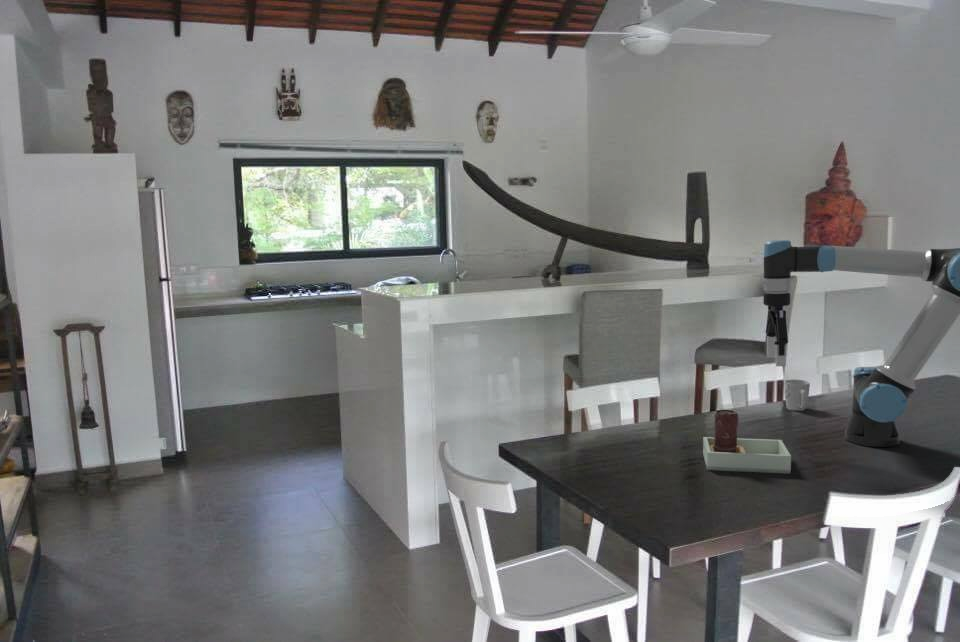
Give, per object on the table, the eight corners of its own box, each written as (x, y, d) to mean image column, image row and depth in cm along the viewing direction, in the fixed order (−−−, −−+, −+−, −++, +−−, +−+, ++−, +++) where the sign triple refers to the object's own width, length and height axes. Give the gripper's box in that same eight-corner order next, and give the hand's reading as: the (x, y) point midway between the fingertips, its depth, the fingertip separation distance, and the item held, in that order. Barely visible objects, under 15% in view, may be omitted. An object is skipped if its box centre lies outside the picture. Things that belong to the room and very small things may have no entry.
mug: (816, 413, 264) (817, 386, 262) (792, 414, 264) (793, 386, 262) (802, 405, 275) (803, 379, 273) (779, 406, 275) (780, 379, 274)
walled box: (780, 456, 219) (781, 439, 219) (790, 473, 205) (791, 456, 204) (703, 453, 224) (703, 437, 223) (707, 469, 209) (707, 452, 209)
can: (738, 462, 212) (739, 414, 210) (715, 461, 213) (716, 414, 211) (735, 456, 217) (737, 409, 215) (713, 455, 219) (714, 408, 217)
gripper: (756, 288, 236) (756, 354, 239) (771, 296, 212) (771, 369, 215) (781, 287, 235) (780, 354, 238) (799, 296, 211) (798, 369, 213)
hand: (776, 361), depth 226 cm, fingers open, 13 cm apart
